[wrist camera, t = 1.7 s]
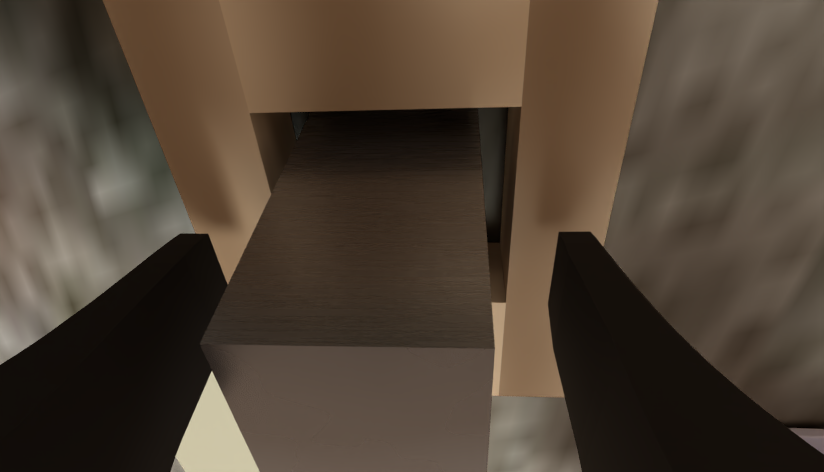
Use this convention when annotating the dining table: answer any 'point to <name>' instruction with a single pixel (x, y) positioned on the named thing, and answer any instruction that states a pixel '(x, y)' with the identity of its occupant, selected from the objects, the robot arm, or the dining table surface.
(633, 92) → the rail plate
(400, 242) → the square peg
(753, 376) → the dining table surface
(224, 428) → the pad
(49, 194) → the dining table surface
